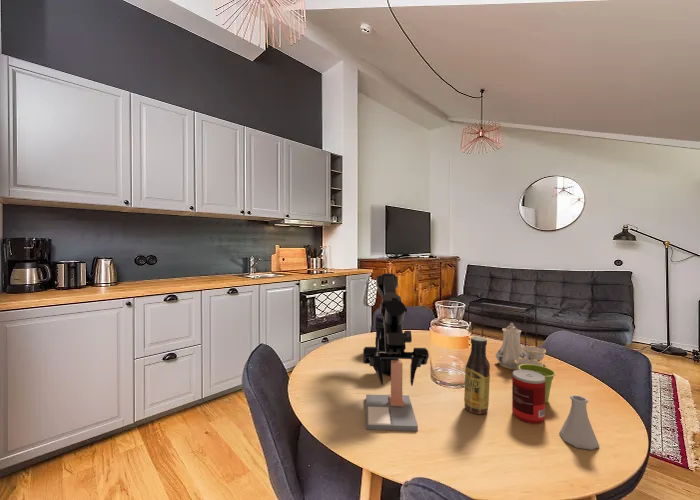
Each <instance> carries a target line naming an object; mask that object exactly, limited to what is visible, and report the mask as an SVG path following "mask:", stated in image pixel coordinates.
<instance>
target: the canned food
mask: <svg viewBox="0 0 700 500" xmlns="http://www.w3.org/2000/svg"><path fill="white" fill-rule="evenodd" d="M511 378H512V380H511V384H512V385H511V391H512V392H511V395H512V400H511V401H512V403H511V410H512V413H513V416H514V417H515V418H516V419H518V420H520V421H522V422H524V423H529V424H532V425H533V424H541V423H543V422H544V421H545V418H546V403H545V377H544V376H543V375H542V374H540V373H537V372H534V371H530V370H513V371H512V377H511Z"/></svg>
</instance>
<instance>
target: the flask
mask: <svg viewBox="0 0 700 500" xmlns="http://www.w3.org/2000/svg"><path fill="white" fill-rule="evenodd" d="M569 399H570V400H571V406H570V410H569V413H568V415H567V417H566V419H565V421H564V423H563V425H562V427H561V429H560V431H559V433H558V434H559V435H560V437H561V439H562V440H563V442H564V441H565V442H566V443H568V444H569V445H571V446H572V447H575V448H576V449H584V450H591V451H592V450H596V449H597V448H599V447H600V444H599V442H598V439H597V437H596V435H595V432H594V429H593V427H592V424H591V420H590V418H589V416H588V415H589V414H588V410H587V404H588V403H589V400H588V398H586V397H584V396H581V395H576V394H573V395H570V396H569Z"/></svg>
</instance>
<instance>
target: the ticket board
mask: <svg viewBox="0 0 700 500" xmlns="http://www.w3.org/2000/svg"><path fill="white" fill-rule="evenodd" d="M402 397H403V401H404V407H402V406H391V404H390V398H389V394H365V414H366V416H365V418H366V419H365V421H366V422H365V424H366V427H365V428H366V429H365V430H374V431H404V432H405V431H407V432H408V431H409V432H418V431H419V425H418V422H417V421H418V420H417V418H416V416H415V412H414V408H413V405H412V401H411V399H410V395H408V394H407V395H404V394H402Z"/></svg>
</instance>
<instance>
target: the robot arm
mask: <svg viewBox="0 0 700 500" xmlns="http://www.w3.org/2000/svg"><path fill="white" fill-rule="evenodd" d="M398 287H399V278H398V276H397V275H396V274H395V273H390V272H387V273H386V272H383V273H381V275H378V276H376V288H377V292H378V294H379V296H380V297H381V299H382V300H381V302H380V304H379V308H380V309H379V311H380V312H379V314H382V316H383V325H384V327H383V328H382V329H381V332H380V338H378V351H377V347H376V346H364V348H363V354H362V355H363V358H362V359H363V364H367V365H369V367H373V369H374V371H375V373H376V375H377V377H378V380H379V383H380V385H381V386H384V379H383V374H384V375H387V376H389V377H391V360H399V361H400V360H411V362H410V366H409V367H410V371H409V373H410V376H409V377H410V378H409V379H410V381H409V383H410V386H411V387H412V386H413V384H414V381H415V376H416V372H417V369H418V368H421V366H422V365H423V366H425V365H427V363H428V360H429V357H430V356H429V355H430V353H429V350H428V349H427V348H426V347H413V349H412V350H413V351H406V348H407V346H406V344H407V343H408V344H409V343H410V344H411V343H412V339H413V337H412V331H411V330H403V322H404V318H405V314H406V312H407V311H408V309H407V306H406V305H405V304H404V302H402V298H401V295H398V294H397V288H398Z"/></svg>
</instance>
